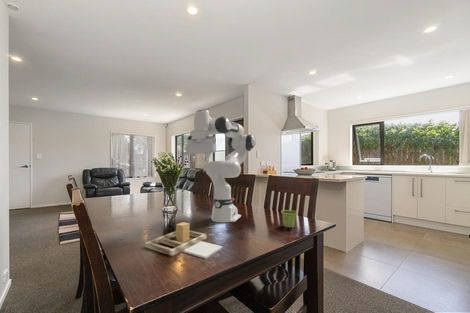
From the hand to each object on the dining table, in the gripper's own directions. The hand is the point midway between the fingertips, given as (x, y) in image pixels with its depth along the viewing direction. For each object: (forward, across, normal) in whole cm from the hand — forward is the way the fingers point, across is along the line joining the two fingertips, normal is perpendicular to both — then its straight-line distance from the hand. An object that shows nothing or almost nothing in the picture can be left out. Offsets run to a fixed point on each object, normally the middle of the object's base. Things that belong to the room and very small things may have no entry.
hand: (200, 161), depth 121 cm
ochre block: (+40, -2, +13) cm, 42 cm away
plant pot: (+38, -39, -38) cm, 66 cm away
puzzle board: (+41, -2, +16) cm, 44 cm away
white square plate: (+41, -18, +16) cm, 48 cm away
